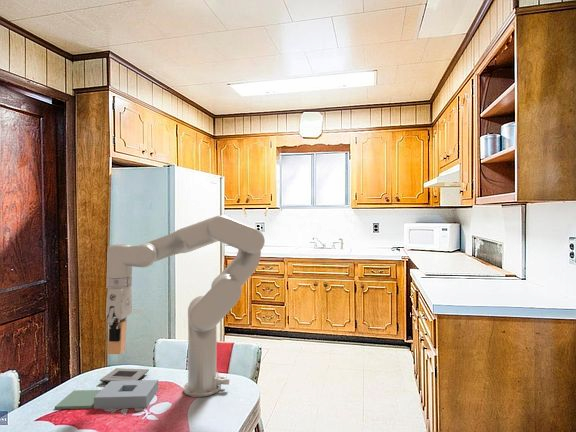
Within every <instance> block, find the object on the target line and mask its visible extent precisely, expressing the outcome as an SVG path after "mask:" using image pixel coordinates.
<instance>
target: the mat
mask: <svg viewBox="0 0 576 432" xmlns="http://www.w3.org/2000/svg"><path fill="white" fill-rule="evenodd" d="M101 390H102V389H85V390H84V389H83V390H80V389H79V390H72V391H71V392H70V393H69V394H68V395H66V396H65V397H64V398H63V399H62V400H61V401H59V402H58V403H57V404H55V406H54V410H71V409H72V410H75V409H79V410H80V409H93V408H94V397H95V396H96V395H97V394H98V393H99V392H100V391H101Z"/></svg>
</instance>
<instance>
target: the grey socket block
mask: <svg viewBox="0 0 576 432" xmlns="http://www.w3.org/2000/svg"><path fill="white" fill-rule="evenodd" d="M100 390H101V391H100V392H99V393H98V394H97V395H96V396H95V397H94V406H93V410H100V409H101V410H103V409H105V410H106V409H110V410H111V409H134V408H135V409H140V408H142V409H143V408H144V409H145V408H148V406H149V404H151V402H152V400H153V399H154V397H155V396H156V394H157V393H158V391H159V379H143V380H142V379H139V380H131V381H110V382H107V384H105V386H104V387H103V388H102V389H100Z"/></svg>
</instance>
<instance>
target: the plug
mask: <svg viewBox="0 0 576 432" xmlns="http://www.w3.org/2000/svg"><path fill="white" fill-rule="evenodd" d="M114 319H117V318H116V317H114ZM114 322H116V323H117V321H114ZM127 322H128V321H127V319H126V320H120V324H119V328H120V341H118V342H115V341H109V334H108V337H107V355H122V354H123V353H124V352H125V351H126V344H127V343H126V337H127Z"/></svg>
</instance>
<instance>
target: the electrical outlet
mask: <svg viewBox="0 0 576 432" xmlns="http://www.w3.org/2000/svg"><path fill="white" fill-rule="evenodd" d="M149 371H150V369H148V368H146V369H145V368H124V367H123V368H121V367H120V368H118V367H117V368H115V369H113V370H111V371H110V372H108V374H106V375H105V376H103V377H101V378H100V379H99V382H102V383H109V382H110V381H131V380H141V378H142V377H144V375H146V374H147V373H148V372H149Z"/></svg>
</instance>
